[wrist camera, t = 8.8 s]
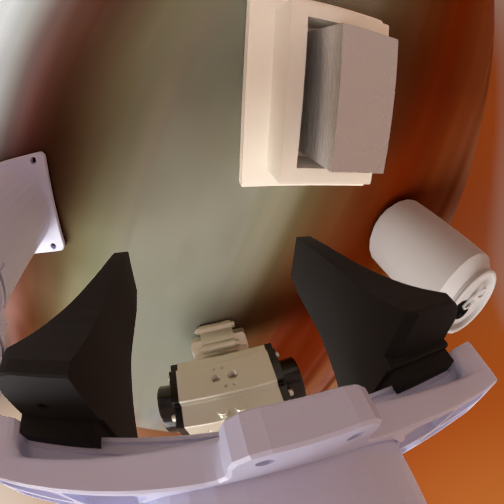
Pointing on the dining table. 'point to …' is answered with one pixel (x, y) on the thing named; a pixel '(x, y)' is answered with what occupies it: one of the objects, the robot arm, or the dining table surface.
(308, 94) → the grey block
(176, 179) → the dining table surface
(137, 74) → the dining table surface
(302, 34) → the hollow block
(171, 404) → the pneumatic valve
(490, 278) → the can
